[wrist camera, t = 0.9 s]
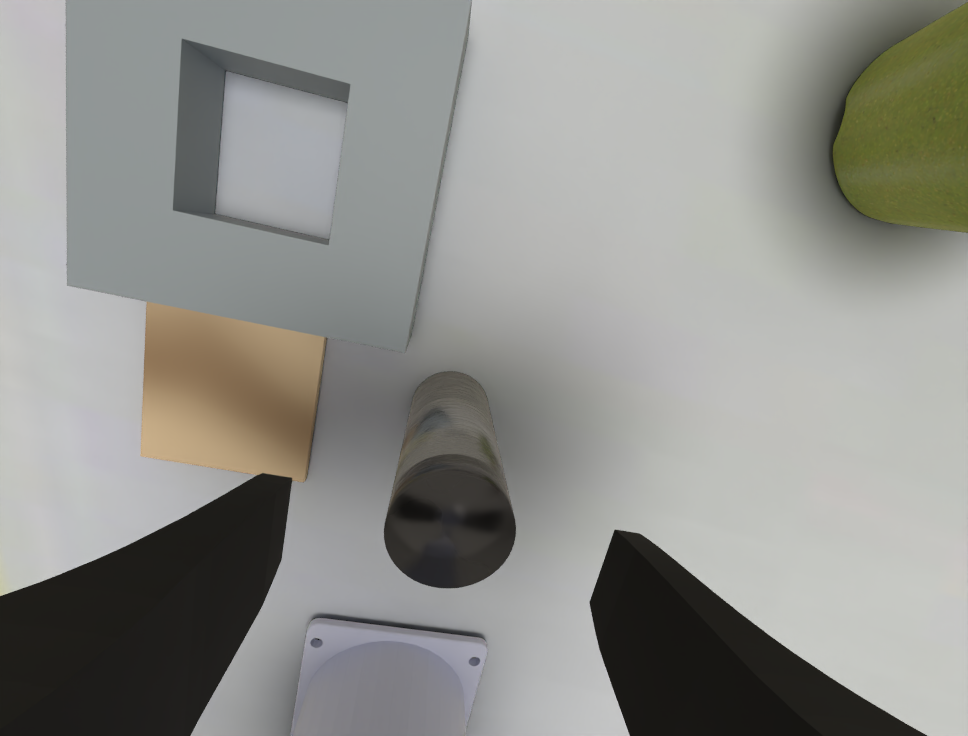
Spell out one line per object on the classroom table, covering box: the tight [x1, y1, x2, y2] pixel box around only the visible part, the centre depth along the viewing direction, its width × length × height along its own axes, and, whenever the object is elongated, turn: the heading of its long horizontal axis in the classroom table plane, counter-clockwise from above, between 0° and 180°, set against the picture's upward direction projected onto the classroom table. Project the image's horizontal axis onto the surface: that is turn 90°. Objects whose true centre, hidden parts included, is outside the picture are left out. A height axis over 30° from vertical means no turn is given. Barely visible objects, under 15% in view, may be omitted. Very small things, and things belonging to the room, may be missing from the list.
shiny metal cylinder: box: [384, 371, 516, 588], centre depth 15 cm, size 3×3×8 cm
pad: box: [141, 302, 327, 482], centre depth 17 cm, size 6×6×1 cm
